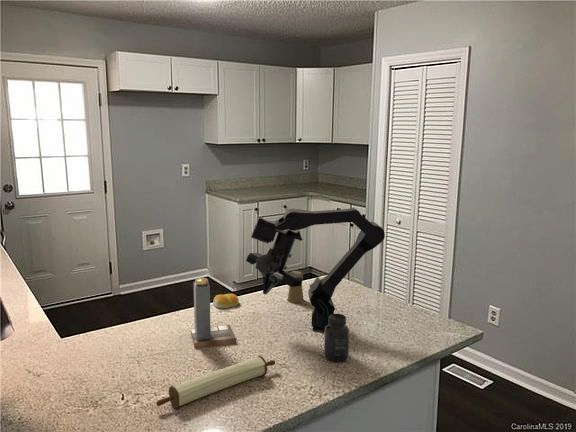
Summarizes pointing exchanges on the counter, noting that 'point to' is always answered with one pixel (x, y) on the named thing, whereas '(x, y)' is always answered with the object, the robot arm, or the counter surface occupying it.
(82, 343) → the counter surface
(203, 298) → the grey square pillar
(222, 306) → the bread roll
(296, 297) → the cork
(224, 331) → the board
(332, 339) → the supplement bottle
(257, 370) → the rolling pin
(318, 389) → the counter surface
